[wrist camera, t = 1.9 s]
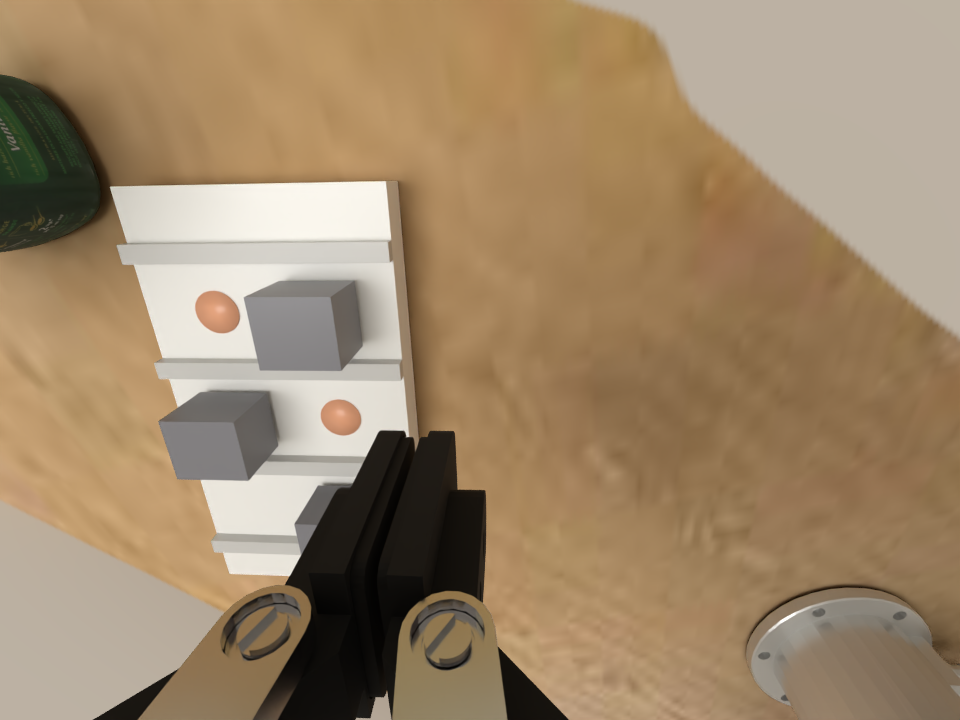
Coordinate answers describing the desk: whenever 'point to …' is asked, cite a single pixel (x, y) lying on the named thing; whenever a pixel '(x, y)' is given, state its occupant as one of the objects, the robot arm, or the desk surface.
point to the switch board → (229, 343)
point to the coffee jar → (40, 169)
